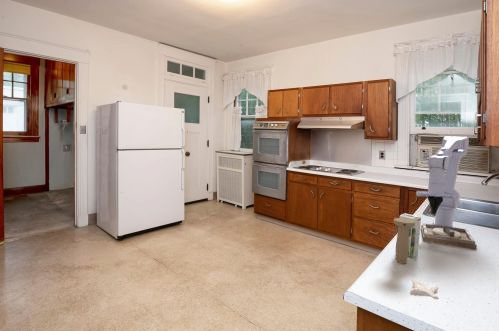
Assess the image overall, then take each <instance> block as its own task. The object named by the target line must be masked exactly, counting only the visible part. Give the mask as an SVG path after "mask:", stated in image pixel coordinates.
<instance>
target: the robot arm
mask: <svg viewBox="0 0 499 331" xmlns="http://www.w3.org/2000/svg"><path fill="white" fill-rule="evenodd" d="M469 140H470V139H469V137H468V136H445V135H444V137H443V138H442V141H441V148H439V149H438V150H437V151H436V152H435V154H434V155H432V156H430V157H429V158H428V173H429V176H428V189H427V191H423V190H422V191H419V190H418V191H416V192H415V194H416V197H426V198H427V200H428V203H429V207H430V210H431V212H430V213H431V214H433V215H435V219H434V220H432V222H433V223H432V224H433V225H441V226H448V227H455V226H454V214H455V210H456V209H458V207H459V205H460V197H461V196H460V193H459V192H458V190H456V189H455V186H456V183H457V182H456V181H457V177H458V172H459V169H460V168H459V166H460V164H461V160H462V158H463V157H465V156H467V154H468V150H469V146H470V144H469V142H470V141H469Z"/></svg>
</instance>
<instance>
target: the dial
mask: <svg viewBox="0 0 499 331" xmlns="http://www.w3.org/2000/svg"><path fill="white" fill-rule="evenodd" d="M433 233H434V234H436V235H439V236H446V237H448V236H450V237H453V238H460V237H461V233H459V232H457V231H455V230H451V228H450V227H448V226H443V228H434V229H433Z"/></svg>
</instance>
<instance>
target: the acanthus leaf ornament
mask: <svg viewBox="0 0 499 331" xmlns="http://www.w3.org/2000/svg"><path fill="white" fill-rule="evenodd" d="M438 290H439V287H437V286H435V285H431V286H428V284H426V283H425V282H421V281H420V280H417V279H413V280H412V288H411V289H410V291H409V292H410V294H415V295H417V294H418V295H425V296H429V297H431V298H433V299H435V300H439V299H440V298H439V296H438V295H436V294H435V293H437V292H438Z"/></svg>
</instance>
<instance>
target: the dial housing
mask: <svg viewBox="0 0 499 331" xmlns="http://www.w3.org/2000/svg"><path fill="white" fill-rule="evenodd" d="M434 228H443V226H441V225H434V223H427V222H426V223H425V222H423V223H422V225H421V224H420V231H421V232H420V233H421V237H422V241H424V242H427V243H429V242H430V243H436V244H442V245H448V246H454V247H461V248H467V249H473V250H477V248H478V246H477V243H476V240H475V239H474V237H473V236H472V234H471V233H470V232H469V229H467V228H461V227H455V226H454V227H450V228H451V230H455V231H457V232H459V233H461V237H460V238H453V237H450V236H448V237H446V236H439V235H436V234H434V233H433V229H434Z"/></svg>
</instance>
